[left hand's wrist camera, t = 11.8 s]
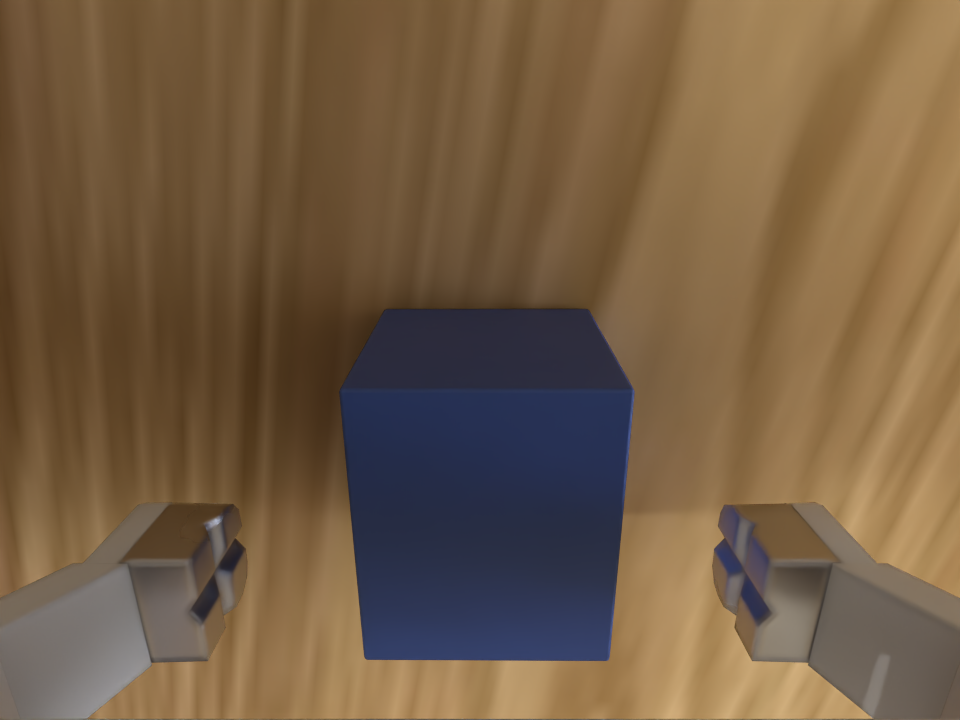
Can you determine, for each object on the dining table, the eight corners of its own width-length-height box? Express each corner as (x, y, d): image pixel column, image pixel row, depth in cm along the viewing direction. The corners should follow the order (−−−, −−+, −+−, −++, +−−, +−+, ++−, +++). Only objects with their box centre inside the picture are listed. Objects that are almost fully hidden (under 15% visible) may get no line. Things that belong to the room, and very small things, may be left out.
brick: (396, 516, 14) (363, 661, 11) (384, 308, 13) (338, 389, 9) (576, 517, 14) (610, 663, 10) (589, 307, 13) (635, 389, 9)
